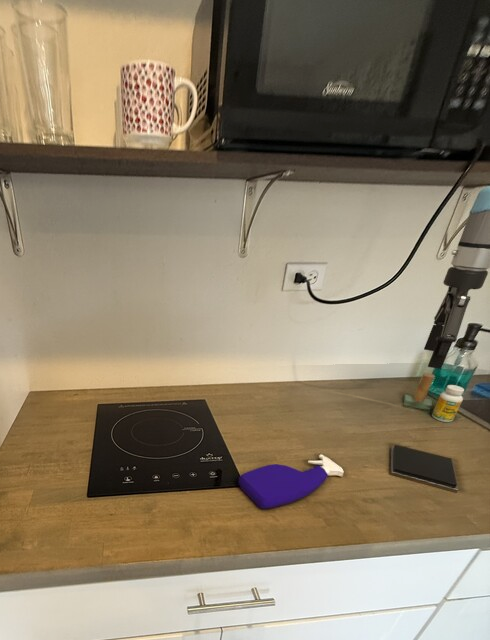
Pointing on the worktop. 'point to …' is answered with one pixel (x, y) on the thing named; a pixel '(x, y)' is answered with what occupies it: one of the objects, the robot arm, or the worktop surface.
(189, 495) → the worktop surface
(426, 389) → the brush
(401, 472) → the flat black square slab
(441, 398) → the supplement bottle
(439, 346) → the robot arm
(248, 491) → the spray bottle
